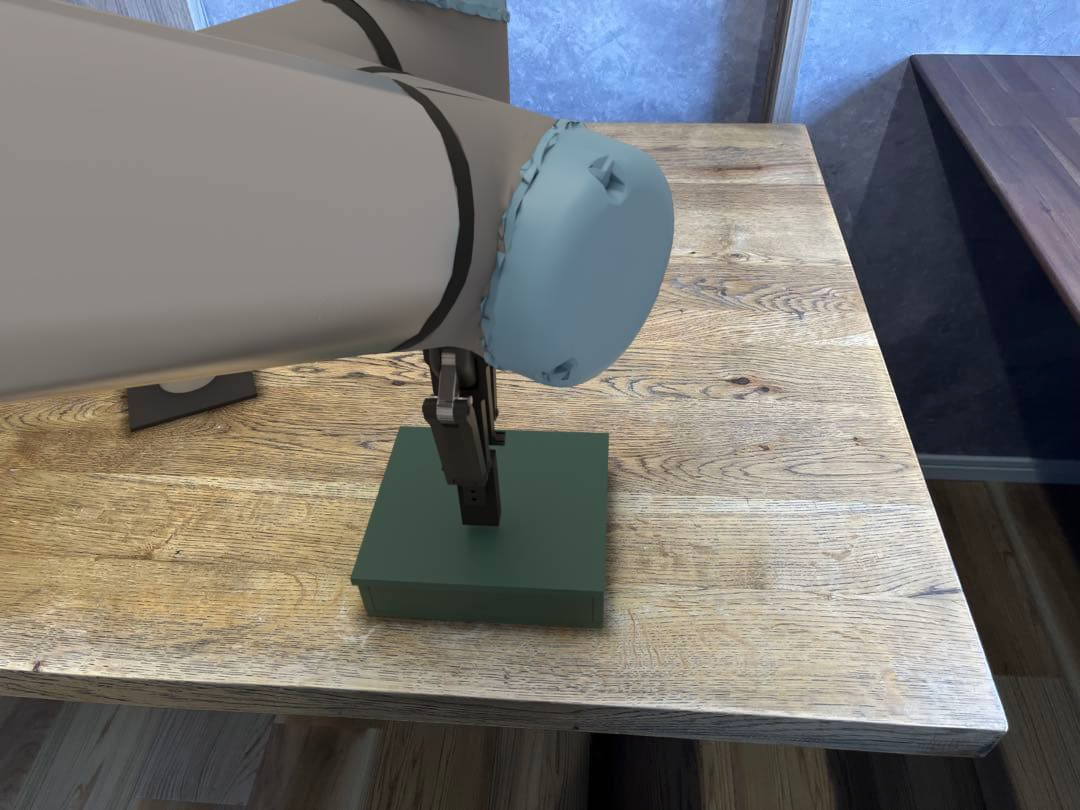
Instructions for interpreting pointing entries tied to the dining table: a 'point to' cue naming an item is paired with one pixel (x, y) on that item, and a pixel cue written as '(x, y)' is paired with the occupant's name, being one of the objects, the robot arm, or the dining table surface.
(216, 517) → the dining table surface
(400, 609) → the box
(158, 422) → the mat
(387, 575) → the lid
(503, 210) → the robot arm
